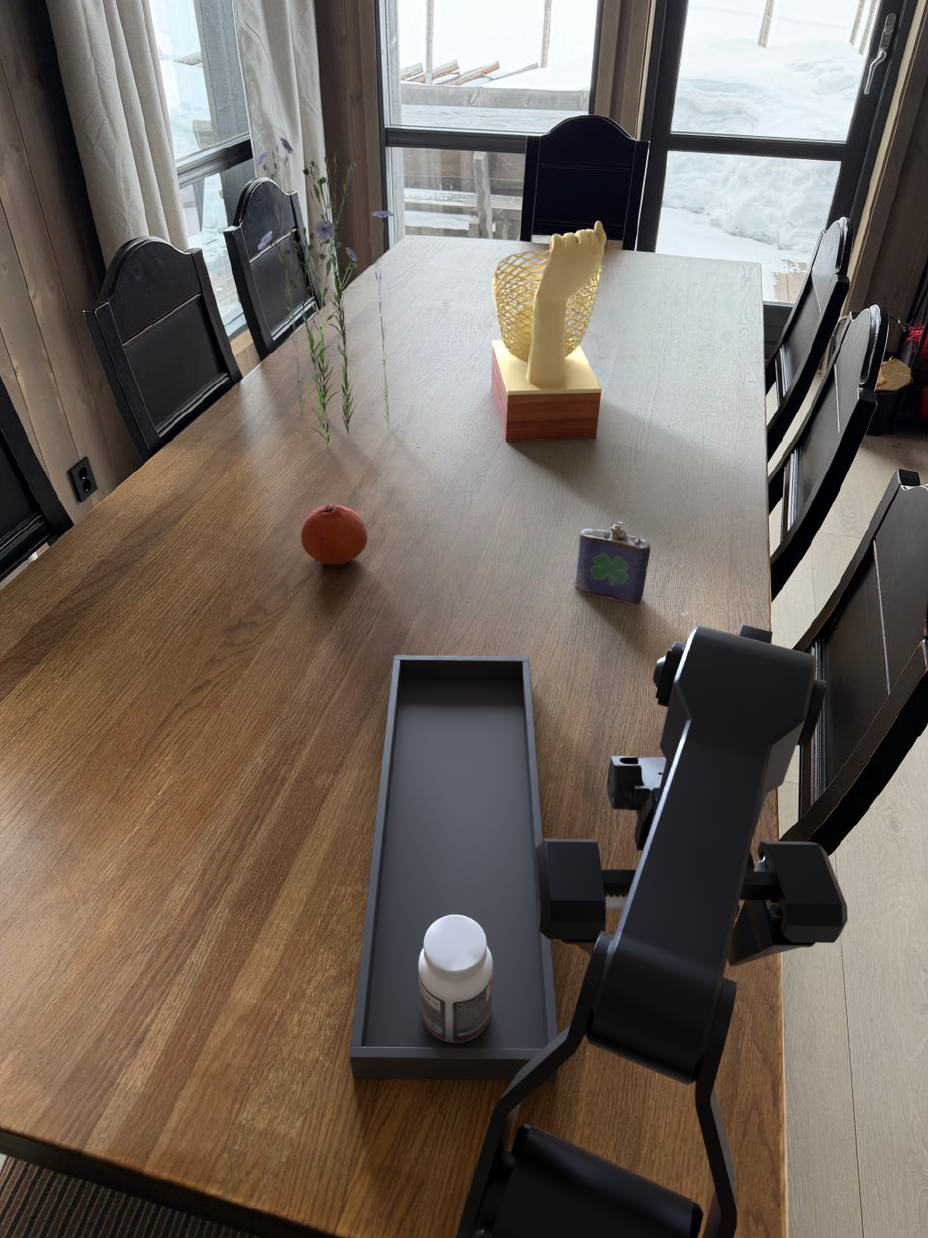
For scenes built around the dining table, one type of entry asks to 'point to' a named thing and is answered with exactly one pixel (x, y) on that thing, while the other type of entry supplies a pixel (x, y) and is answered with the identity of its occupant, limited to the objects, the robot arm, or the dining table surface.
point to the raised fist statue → (548, 342)
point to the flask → (612, 564)
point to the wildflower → (325, 231)
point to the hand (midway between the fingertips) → (664, 959)
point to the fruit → (333, 534)
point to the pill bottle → (455, 979)
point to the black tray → (455, 868)
